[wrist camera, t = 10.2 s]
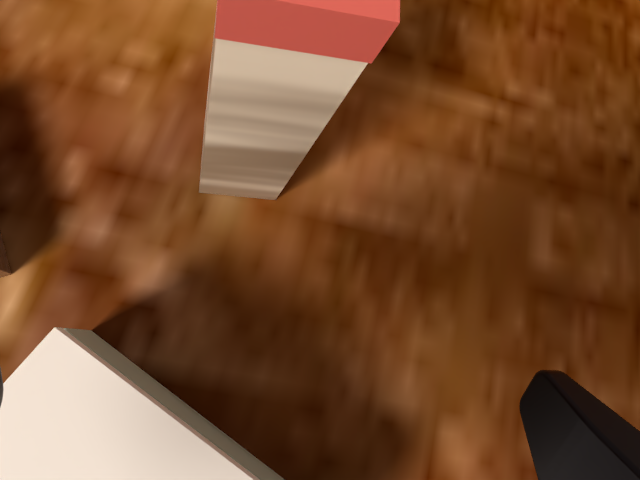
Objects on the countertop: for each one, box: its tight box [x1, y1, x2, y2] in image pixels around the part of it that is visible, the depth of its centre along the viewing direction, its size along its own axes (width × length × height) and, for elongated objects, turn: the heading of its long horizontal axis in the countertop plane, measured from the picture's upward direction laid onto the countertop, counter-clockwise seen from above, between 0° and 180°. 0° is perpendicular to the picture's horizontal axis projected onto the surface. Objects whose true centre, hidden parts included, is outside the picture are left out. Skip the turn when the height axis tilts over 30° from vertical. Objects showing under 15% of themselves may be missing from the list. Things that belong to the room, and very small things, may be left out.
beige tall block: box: [199, 0, 400, 200], centre depth 17 cm, size 3×3×14 cm
